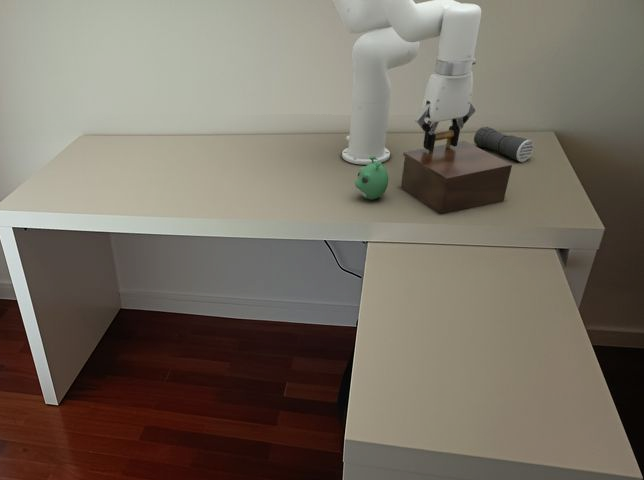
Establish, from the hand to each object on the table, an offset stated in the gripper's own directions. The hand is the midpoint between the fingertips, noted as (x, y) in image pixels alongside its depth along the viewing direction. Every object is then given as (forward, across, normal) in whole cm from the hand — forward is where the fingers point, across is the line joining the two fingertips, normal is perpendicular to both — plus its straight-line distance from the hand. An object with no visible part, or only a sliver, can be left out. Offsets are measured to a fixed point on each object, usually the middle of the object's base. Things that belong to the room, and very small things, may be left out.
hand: (440, 146), depth 154 cm
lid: (+2, 0, +7) cm, 7 cm away
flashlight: (+10, -26, -9) cm, 29 cm away
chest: (+9, 0, +7) cm, 12 cm away
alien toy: (+10, +18, +1) cm, 20 cm away
